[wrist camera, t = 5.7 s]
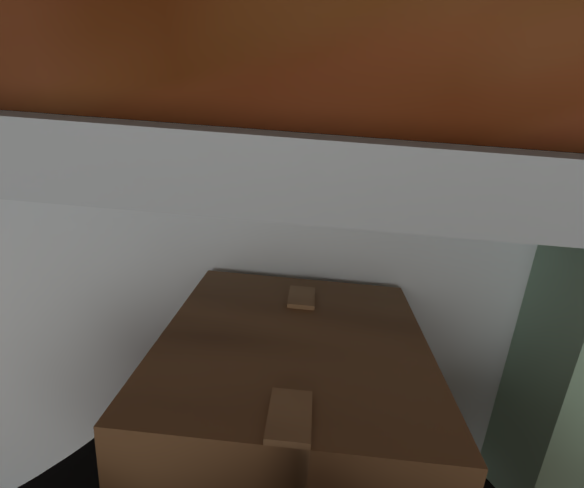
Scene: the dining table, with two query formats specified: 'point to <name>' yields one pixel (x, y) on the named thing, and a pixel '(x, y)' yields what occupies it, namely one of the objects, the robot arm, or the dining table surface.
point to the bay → (288, 267)
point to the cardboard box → (287, 395)
